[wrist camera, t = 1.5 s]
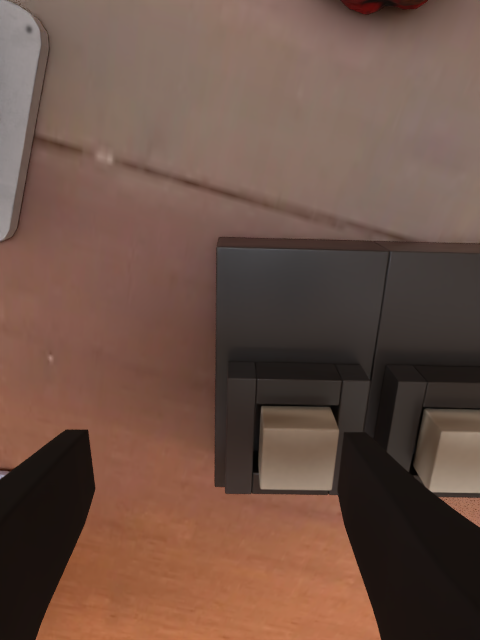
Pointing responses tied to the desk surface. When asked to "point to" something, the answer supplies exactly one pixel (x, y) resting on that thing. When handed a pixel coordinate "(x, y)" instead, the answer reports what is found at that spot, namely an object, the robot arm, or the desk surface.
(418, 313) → the dark brown notched block
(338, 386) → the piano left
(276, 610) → the desk surface
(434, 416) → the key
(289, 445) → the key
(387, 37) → the desk surface
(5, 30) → the emergency button
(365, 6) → the red clay folk toy
